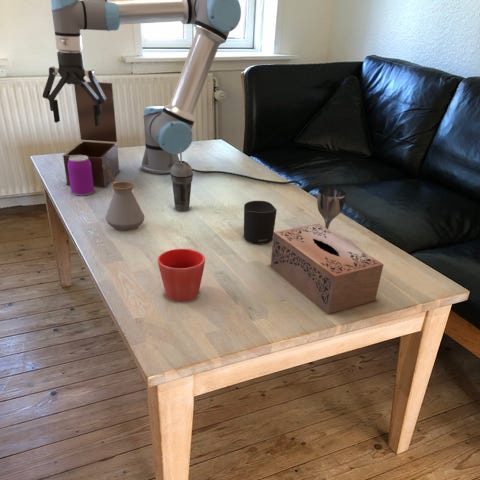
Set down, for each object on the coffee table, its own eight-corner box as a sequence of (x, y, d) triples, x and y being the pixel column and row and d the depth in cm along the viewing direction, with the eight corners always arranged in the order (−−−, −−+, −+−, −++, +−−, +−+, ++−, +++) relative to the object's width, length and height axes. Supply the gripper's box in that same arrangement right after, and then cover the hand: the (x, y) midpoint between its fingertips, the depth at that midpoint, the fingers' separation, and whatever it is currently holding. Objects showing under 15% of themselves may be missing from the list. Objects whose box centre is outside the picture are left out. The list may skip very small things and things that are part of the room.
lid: (111, 83, 180) (116, 80, 186) (73, 81, 181) (80, 77, 187) (116, 142, 192) (121, 137, 198) (80, 139, 192) (86, 134, 198)
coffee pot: (150, 230, 154) (148, 181, 145) (113, 237, 149) (108, 186, 140) (126, 206, 169) (122, 160, 160) (91, 211, 164) (86, 164, 155)
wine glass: (340, 237, 156) (348, 190, 147) (335, 248, 149) (343, 198, 141) (314, 233, 158) (321, 185, 149) (309, 243, 151) (315, 194, 143)
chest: (104, 187, 182) (101, 158, 176) (67, 184, 183) (62, 155, 177) (119, 170, 198) (117, 143, 192) (84, 168, 199) (81, 140, 193)
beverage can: (87, 187, 182) (83, 152, 175) (98, 193, 177) (94, 158, 170) (67, 191, 177) (62, 156, 170) (78, 198, 172) (73, 162, 166)
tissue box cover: (375, 300, 126) (383, 264, 120) (328, 313, 120) (334, 276, 114) (314, 256, 144) (318, 223, 139) (270, 266, 138) (273, 232, 133)
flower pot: (160, 283, 128) (158, 247, 122) (204, 283, 129) (204, 248, 124) (158, 305, 119) (156, 268, 114) (205, 305, 120) (205, 268, 115)
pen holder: (237, 241, 150) (239, 209, 145) (249, 229, 157) (251, 198, 152) (267, 247, 147) (270, 215, 142) (278, 235, 155) (281, 204, 149)
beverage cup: (195, 205, 172) (195, 144, 161) (191, 213, 166) (190, 151, 155) (173, 203, 172) (172, 143, 161) (169, 211, 166) (167, 149, 155)
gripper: (24, 49, 155) (35, 122, 166) (105, 55, 153) (111, 129, 165) (35, 46, 161) (45, 117, 173) (113, 53, 160) (117, 124, 171)
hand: (77, 123), depth 169 cm, fingers open, 13 cm apart
